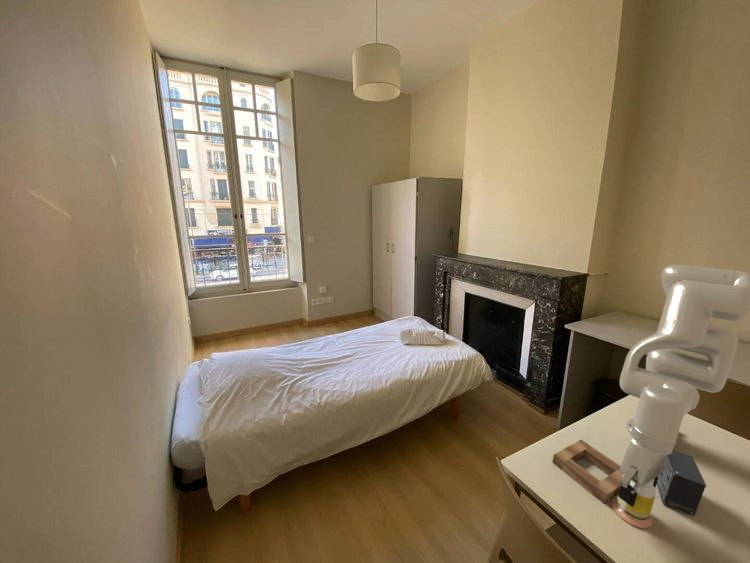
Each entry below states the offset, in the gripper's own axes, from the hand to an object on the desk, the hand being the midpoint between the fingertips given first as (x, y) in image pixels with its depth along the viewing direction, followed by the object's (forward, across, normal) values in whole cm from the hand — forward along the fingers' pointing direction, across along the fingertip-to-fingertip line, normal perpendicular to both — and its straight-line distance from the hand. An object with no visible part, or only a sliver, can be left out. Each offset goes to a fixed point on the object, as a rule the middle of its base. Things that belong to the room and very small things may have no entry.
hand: (636, 493), depth 75 cm
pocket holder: (+6, -3, -12) cm, 13 cm away
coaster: (+6, 0, 0) cm, 6 cm away
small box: (+7, -16, +2) cm, 18 cm away
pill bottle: (+6, 0, 0) cm, 6 cm away
